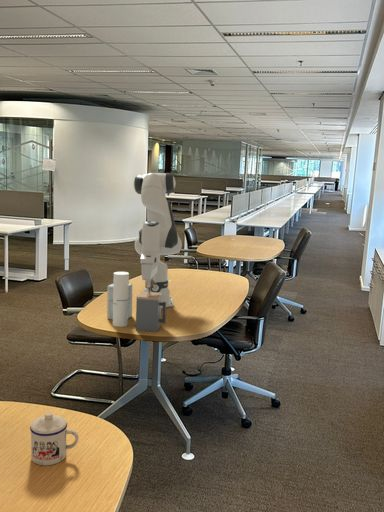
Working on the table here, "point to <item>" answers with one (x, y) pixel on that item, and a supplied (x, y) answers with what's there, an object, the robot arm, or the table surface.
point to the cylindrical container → (120, 299)
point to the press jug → (149, 311)
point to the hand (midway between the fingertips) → (149, 286)
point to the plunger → (150, 287)
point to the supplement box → (110, 301)
